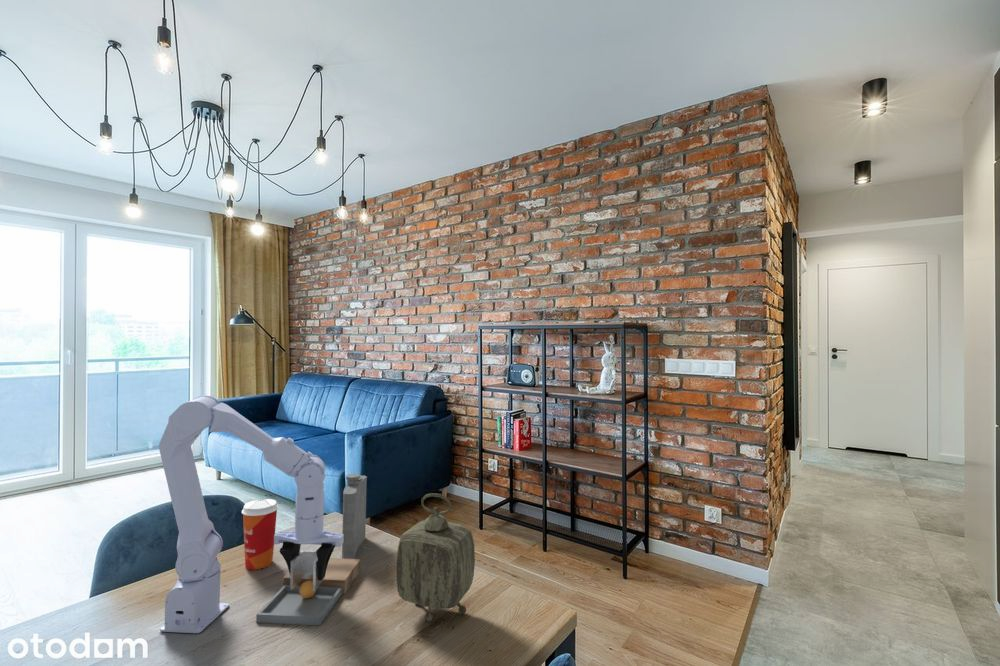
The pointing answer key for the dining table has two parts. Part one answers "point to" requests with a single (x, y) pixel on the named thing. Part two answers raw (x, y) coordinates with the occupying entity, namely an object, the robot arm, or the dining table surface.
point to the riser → (335, 574)
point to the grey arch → (305, 568)
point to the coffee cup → (259, 532)
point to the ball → (307, 589)
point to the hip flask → (354, 514)
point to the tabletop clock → (435, 562)
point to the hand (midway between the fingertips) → (308, 577)
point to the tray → (299, 606)
